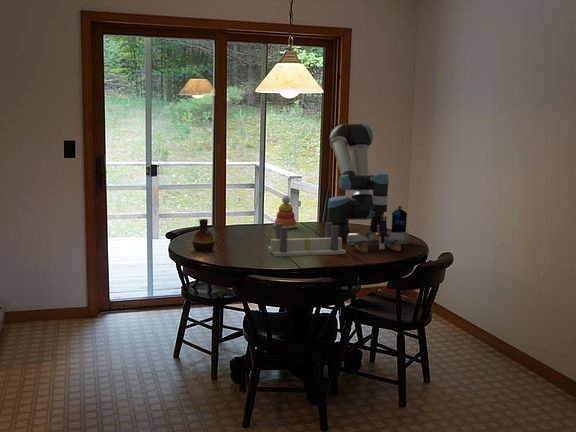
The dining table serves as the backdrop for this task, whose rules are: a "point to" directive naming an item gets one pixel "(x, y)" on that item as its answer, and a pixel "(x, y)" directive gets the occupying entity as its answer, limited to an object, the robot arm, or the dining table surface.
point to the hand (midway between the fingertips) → (377, 246)
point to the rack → (395, 246)
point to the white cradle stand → (306, 243)
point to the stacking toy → (286, 214)
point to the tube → (377, 238)
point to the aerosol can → (399, 220)
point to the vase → (203, 238)
